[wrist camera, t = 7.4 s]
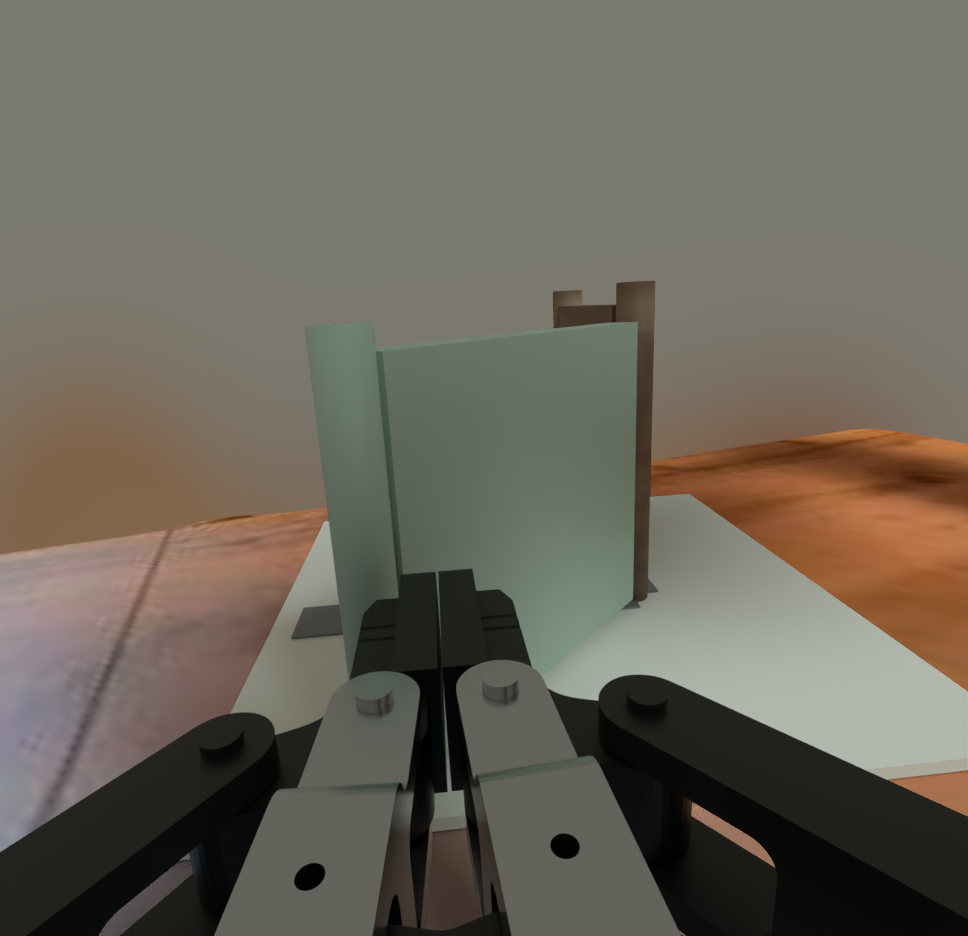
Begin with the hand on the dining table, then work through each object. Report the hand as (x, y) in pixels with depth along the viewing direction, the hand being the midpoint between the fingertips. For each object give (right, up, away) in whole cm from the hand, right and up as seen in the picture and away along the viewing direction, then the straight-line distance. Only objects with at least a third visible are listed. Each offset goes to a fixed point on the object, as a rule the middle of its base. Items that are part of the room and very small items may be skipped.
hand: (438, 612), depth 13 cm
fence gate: (+2, -4, +7) cm, 9 cm away
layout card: (+4, -3, +14) cm, 15 cm away
